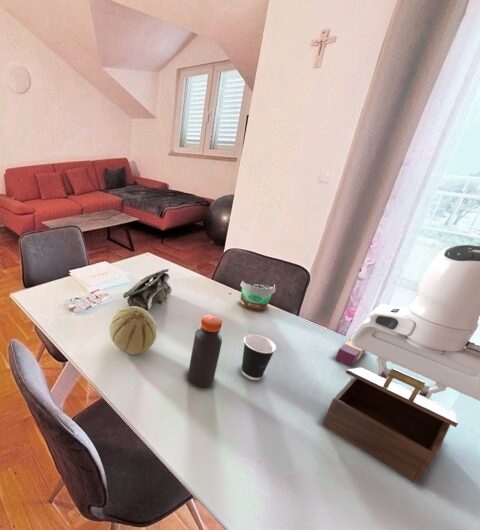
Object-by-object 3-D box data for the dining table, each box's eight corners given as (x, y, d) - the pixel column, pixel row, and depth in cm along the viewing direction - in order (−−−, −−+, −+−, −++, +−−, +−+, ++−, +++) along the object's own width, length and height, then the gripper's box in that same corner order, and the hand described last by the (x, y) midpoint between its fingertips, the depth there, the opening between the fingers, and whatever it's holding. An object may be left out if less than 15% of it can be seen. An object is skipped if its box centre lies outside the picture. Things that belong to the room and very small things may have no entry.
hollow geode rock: (130, 328, 119) (157, 314, 108) (111, 300, 121) (136, 284, 110) (165, 298, 138) (191, 284, 127) (148, 274, 140) (172, 258, 129)
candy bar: (364, 353, 99) (369, 342, 97) (351, 366, 93) (355, 355, 91) (348, 346, 102) (353, 335, 100) (334, 359, 96) (339, 348, 94)
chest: (417, 484, 62) (436, 456, 59) (321, 424, 75) (333, 398, 72) (437, 441, 71) (455, 415, 68) (348, 394, 83) (359, 369, 80)
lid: (455, 427, 56) (470, 403, 56) (345, 372, 69) (356, 352, 68) (455, 415, 67) (467, 395, 67) (359, 369, 80) (369, 352, 79)
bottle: (182, 374, 90) (192, 316, 82) (200, 368, 93) (211, 310, 85) (199, 391, 84) (212, 329, 76) (218, 383, 87) (232, 323, 79)
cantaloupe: (121, 329, 110) (123, 292, 104) (161, 344, 103) (166, 305, 97) (99, 352, 99) (101, 312, 93) (142, 371, 91) (147, 328, 85)
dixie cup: (236, 361, 95) (244, 331, 91) (266, 369, 92) (275, 339, 87) (235, 378, 89) (243, 347, 84) (267, 388, 85) (277, 355, 81)
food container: (238, 309, 122) (243, 287, 118) (236, 302, 128) (241, 280, 123) (273, 314, 119) (280, 291, 115) (269, 306, 124) (276, 284, 120)
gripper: (525, 353, 52) (482, 413, 58) (371, 301, 68) (349, 352, 73) (522, 368, 49) (476, 430, 55) (360, 310, 65) (338, 363, 70)
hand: (402, 385), depth 64 cm, fingers closed on lid, 5 cm apart
